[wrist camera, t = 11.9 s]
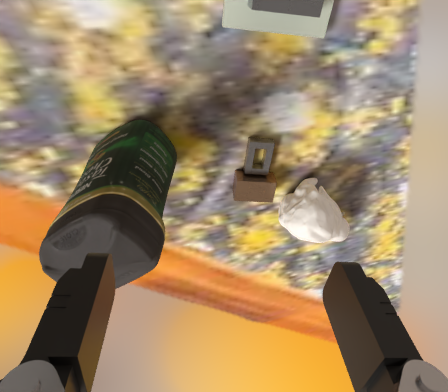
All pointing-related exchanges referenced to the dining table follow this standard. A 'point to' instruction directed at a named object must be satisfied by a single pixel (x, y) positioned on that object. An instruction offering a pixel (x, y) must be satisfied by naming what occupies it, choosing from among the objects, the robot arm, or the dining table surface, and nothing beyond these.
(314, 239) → the white lumpy piece
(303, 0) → the link
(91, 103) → the dining table surface
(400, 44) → the dining table surface
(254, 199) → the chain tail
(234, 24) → the peg stand
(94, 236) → the coffee jar
